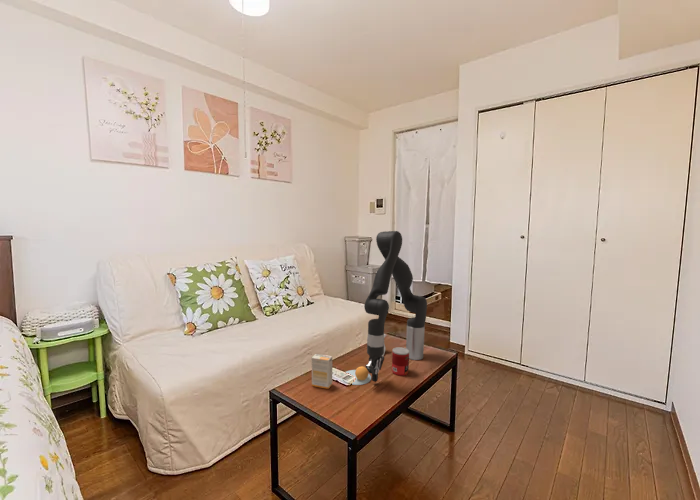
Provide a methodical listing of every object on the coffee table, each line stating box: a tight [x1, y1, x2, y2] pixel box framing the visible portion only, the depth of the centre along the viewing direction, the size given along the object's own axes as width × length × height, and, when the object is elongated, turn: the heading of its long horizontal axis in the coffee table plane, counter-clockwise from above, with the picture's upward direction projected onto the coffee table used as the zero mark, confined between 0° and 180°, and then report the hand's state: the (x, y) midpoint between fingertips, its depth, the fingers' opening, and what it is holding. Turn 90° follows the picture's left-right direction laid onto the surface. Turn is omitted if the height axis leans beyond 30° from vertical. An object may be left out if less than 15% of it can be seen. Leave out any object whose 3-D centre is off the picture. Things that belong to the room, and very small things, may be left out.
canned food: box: [391, 346, 410, 377], centre depth 156 cm, size 8×8×11 cm
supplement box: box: [311, 353, 333, 390], centre depth 143 cm, size 8×5×13 cm, turn 71°
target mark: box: [345, 369, 372, 386], centre depth 151 cm, size 14×14×1 cm
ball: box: [355, 365, 369, 380], centre depth 149 cm, size 6×6×6 cm
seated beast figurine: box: [382, 333, 387, 357], centre depth 179 cm, size 10×9×12 cm
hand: (374, 380), depth 145 cm, fingers closed
